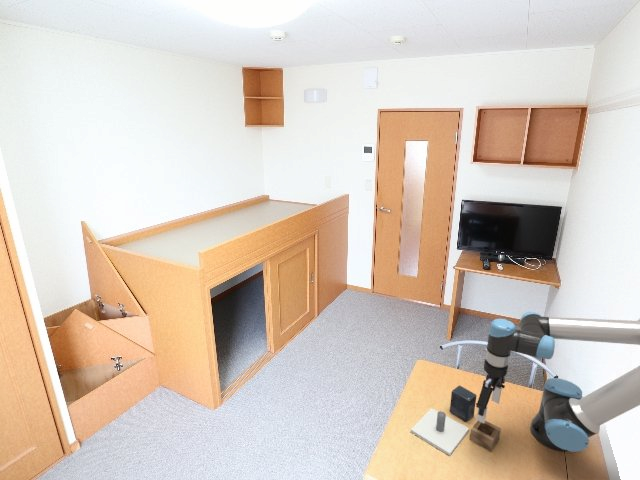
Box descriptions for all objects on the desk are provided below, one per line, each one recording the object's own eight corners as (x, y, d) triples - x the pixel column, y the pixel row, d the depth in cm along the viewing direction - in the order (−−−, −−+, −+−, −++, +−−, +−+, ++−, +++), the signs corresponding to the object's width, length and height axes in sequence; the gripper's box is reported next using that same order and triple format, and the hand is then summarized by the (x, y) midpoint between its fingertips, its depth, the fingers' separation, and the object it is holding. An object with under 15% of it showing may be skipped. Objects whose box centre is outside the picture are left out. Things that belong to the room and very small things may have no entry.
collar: (499, 439, 145) (501, 428, 144) (491, 451, 140) (492, 441, 138) (478, 427, 151) (479, 417, 149) (469, 439, 145) (471, 429, 144)
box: (473, 416, 157) (477, 394, 153) (466, 422, 153) (469, 400, 150) (456, 405, 162) (459, 384, 159) (449, 411, 159) (451, 390, 156)
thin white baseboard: (468, 430, 149) (471, 413, 147) (449, 456, 138) (452, 437, 136) (431, 410, 160) (432, 393, 157) (410, 432, 149) (412, 414, 146)
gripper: (498, 343, 146) (490, 389, 152) (471, 373, 129) (463, 424, 135) (519, 351, 141) (510, 398, 147) (493, 383, 124) (484, 436, 130)
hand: (488, 411), depth 141 cm, fingers open, 13 cm apart
